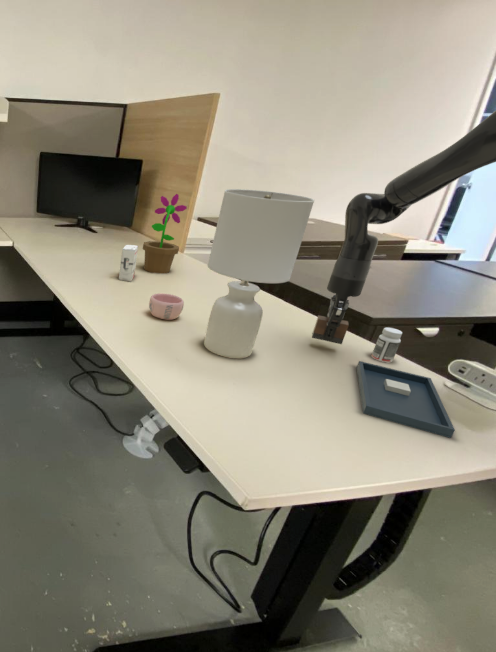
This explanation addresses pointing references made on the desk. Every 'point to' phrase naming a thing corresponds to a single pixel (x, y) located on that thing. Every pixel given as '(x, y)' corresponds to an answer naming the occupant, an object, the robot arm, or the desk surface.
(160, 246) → the flowerpot
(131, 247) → the ink box
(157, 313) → the pink bowl
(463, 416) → the desk surface
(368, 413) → the tray
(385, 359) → the pill bottle
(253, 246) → the lamp
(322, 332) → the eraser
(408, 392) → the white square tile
